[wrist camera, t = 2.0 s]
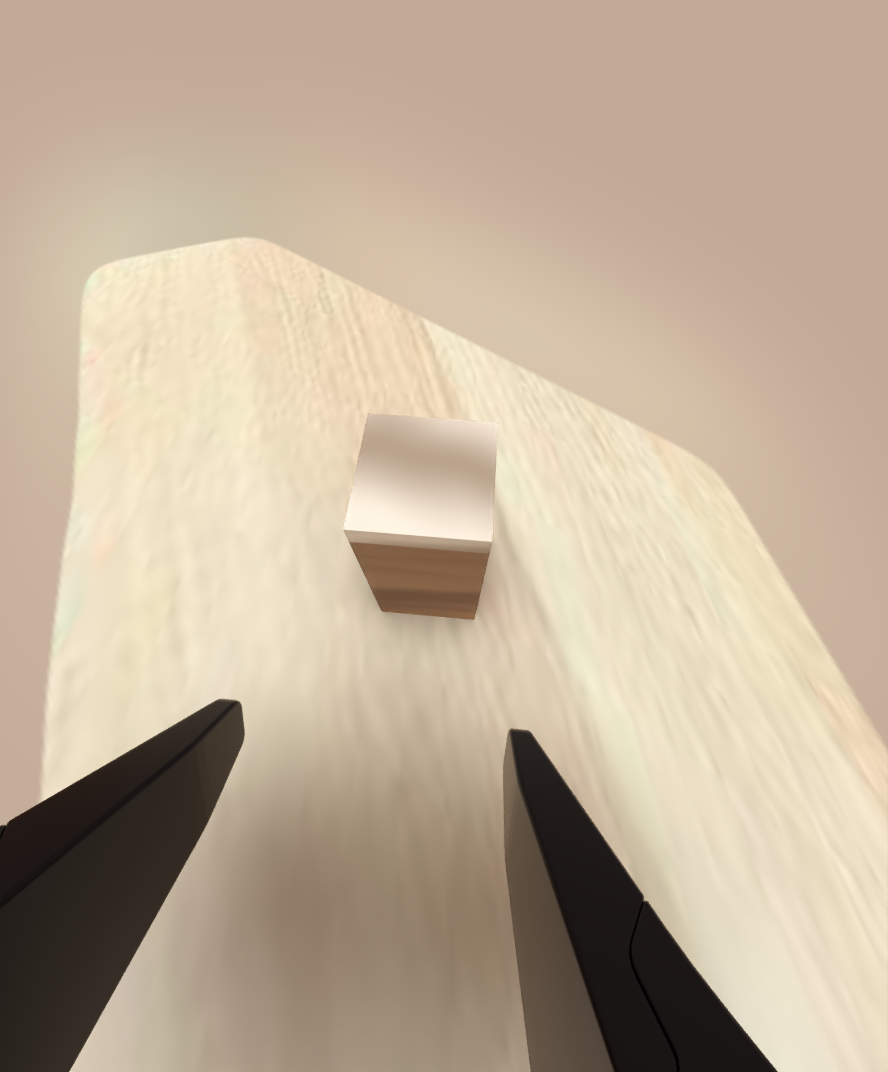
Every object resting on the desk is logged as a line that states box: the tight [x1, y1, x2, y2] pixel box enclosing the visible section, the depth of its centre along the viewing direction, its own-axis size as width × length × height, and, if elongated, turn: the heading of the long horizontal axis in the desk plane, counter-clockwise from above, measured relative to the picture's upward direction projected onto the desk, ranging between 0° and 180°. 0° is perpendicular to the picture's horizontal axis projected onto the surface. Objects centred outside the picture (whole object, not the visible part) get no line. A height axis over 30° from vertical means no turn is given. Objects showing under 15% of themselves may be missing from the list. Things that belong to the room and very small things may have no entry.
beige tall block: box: [343, 413, 498, 620], centre depth 20 cm, size 5×5×10 cm
